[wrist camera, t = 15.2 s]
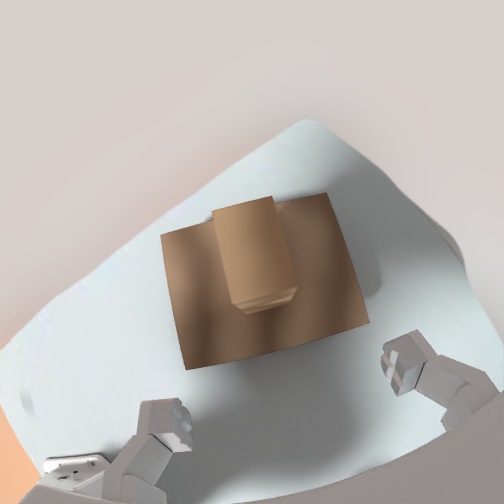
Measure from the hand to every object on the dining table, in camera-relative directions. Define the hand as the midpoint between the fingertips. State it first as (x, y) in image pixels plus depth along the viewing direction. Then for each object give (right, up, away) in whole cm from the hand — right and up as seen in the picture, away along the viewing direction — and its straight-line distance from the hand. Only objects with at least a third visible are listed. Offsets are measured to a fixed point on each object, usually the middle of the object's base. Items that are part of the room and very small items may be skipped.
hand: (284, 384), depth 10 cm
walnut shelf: (0, +1, +23) cm, 23 cm away
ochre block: (0, +2, +17) cm, 17 cm away
